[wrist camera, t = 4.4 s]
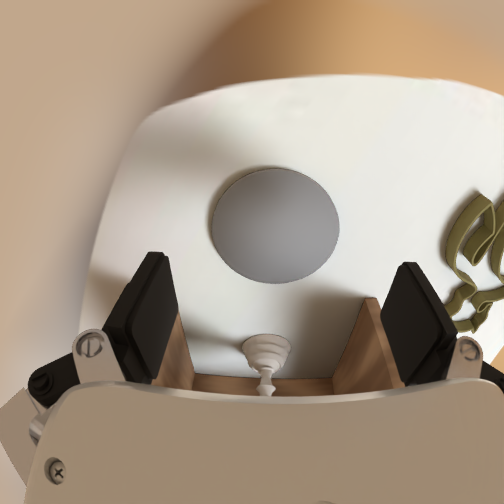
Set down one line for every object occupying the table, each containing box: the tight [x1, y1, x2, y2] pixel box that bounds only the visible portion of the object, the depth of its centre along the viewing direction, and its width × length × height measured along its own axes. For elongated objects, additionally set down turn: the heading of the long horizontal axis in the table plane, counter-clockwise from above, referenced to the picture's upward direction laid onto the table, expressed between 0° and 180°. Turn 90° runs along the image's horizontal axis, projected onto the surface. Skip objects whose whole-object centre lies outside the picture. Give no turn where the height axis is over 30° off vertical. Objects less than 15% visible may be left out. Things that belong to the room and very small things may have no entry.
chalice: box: [242, 334, 291, 396], centre depth 20 cm, size 7×7×18 cm
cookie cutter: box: [444, 194, 504, 334], centre depth 20 cm, size 18×12×2 cm, turn 39°
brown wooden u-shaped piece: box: [151, 298, 405, 397], centre depth 23 cm, size 19×15×10 cm
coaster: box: [212, 169, 339, 284], centre depth 19 cm, size 9×9×1 cm
